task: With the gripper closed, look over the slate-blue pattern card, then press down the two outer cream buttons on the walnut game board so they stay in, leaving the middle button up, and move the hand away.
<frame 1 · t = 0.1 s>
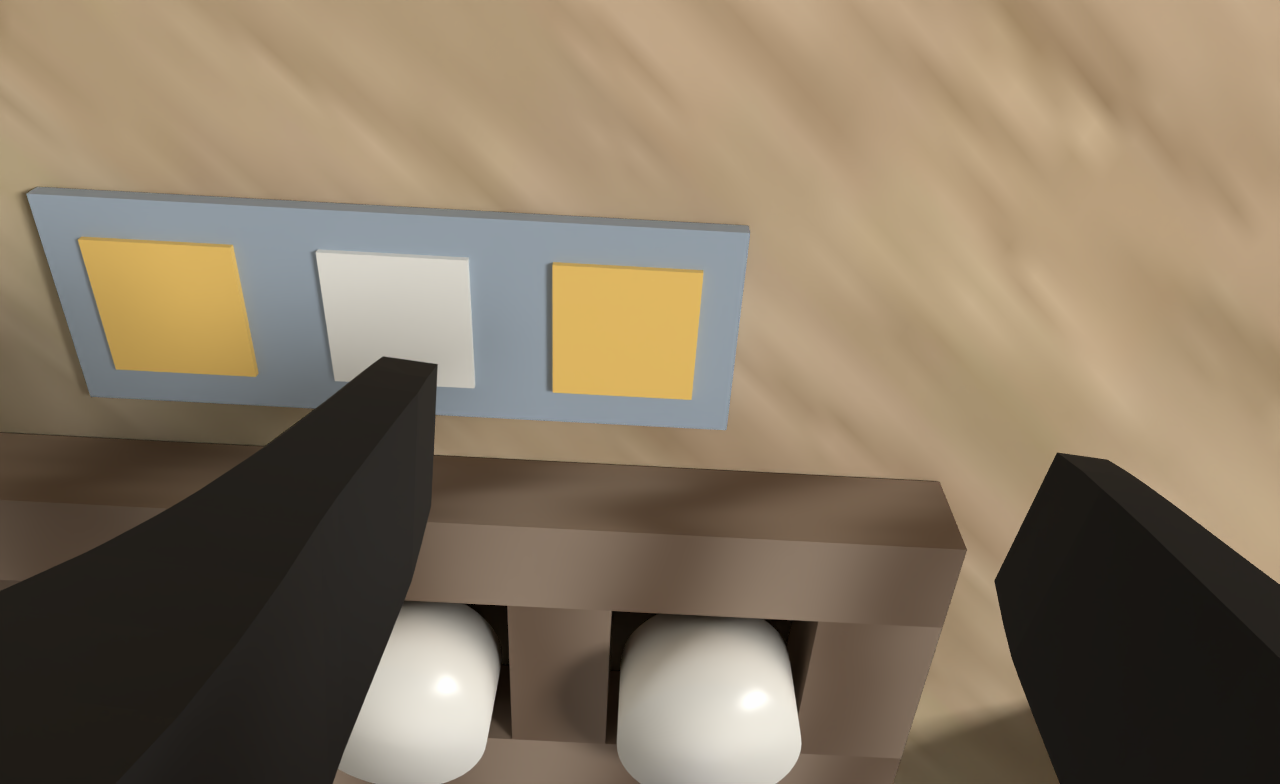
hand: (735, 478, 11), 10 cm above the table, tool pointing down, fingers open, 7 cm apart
button 1: (706, 703, 23), point 3 cm above the table, slide at 0.0 cm
button 2: (406, 688, 23), point 3 cm above the table, slide at 0.0 cm
button board: (432, 600, 26), on the table
pattern card: (404, 311, 21), on the table
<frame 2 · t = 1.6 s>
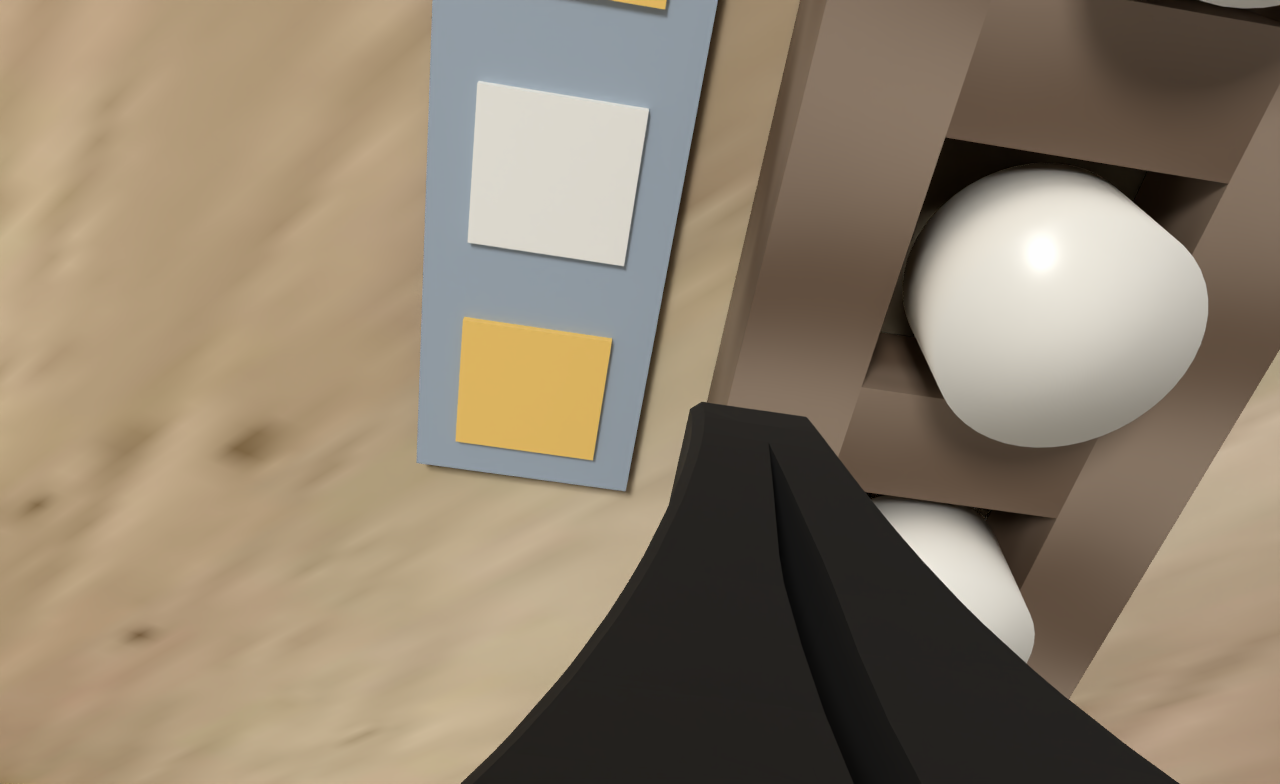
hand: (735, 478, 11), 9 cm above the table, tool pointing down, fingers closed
button 3: (912, 605, 21), point 3 cm above the table, slide at 0.0 cm
button 2: (1042, 306, 17), point 3 cm above the table, slide at 0.0 cm
button board: (992, 238, 19), on the table
pattern card: (557, 169, 19), on the table
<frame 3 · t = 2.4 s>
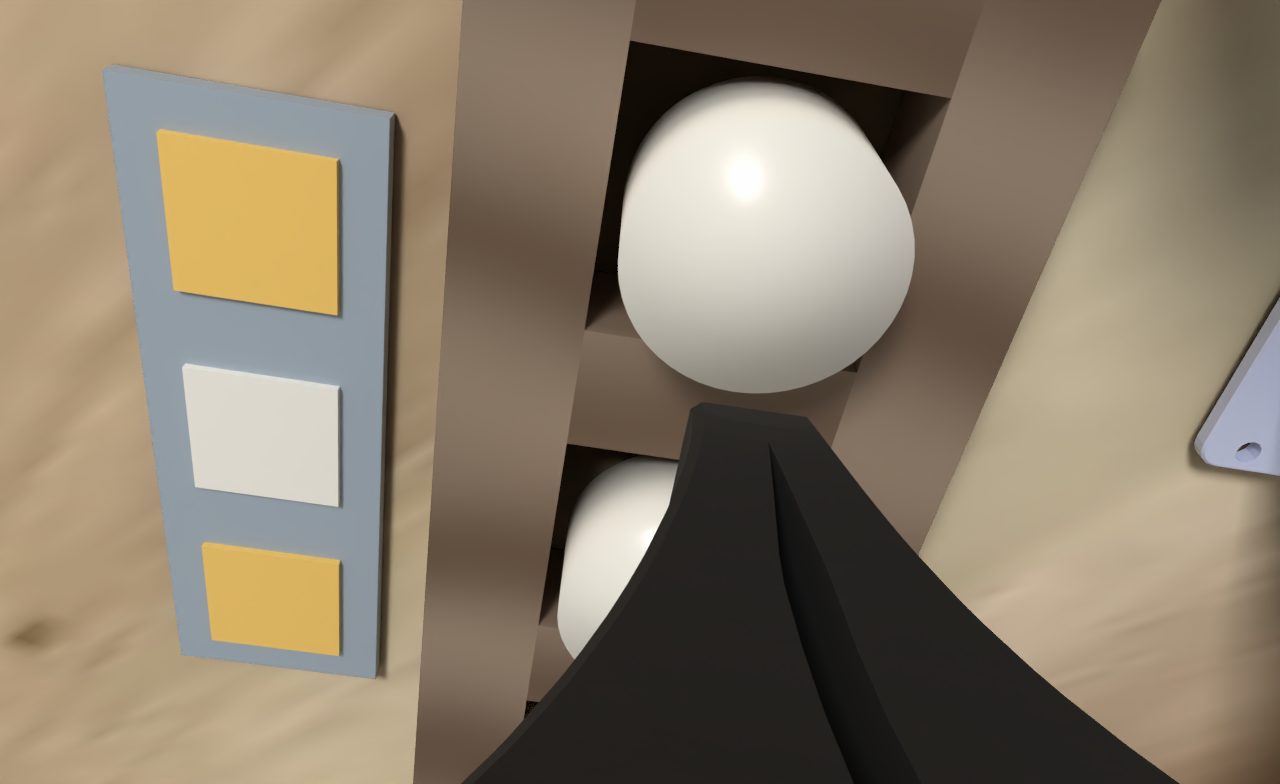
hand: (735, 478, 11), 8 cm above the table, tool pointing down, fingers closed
button 1: (757, 236, 15), point 3 cm above the table, slide at 0.0 cm
button 2: (671, 575, 19), point 3 cm above the table, slide at 0.0 cm
button board: (669, 483, 22), on the table
pattern card: (272, 425, 21), on the table
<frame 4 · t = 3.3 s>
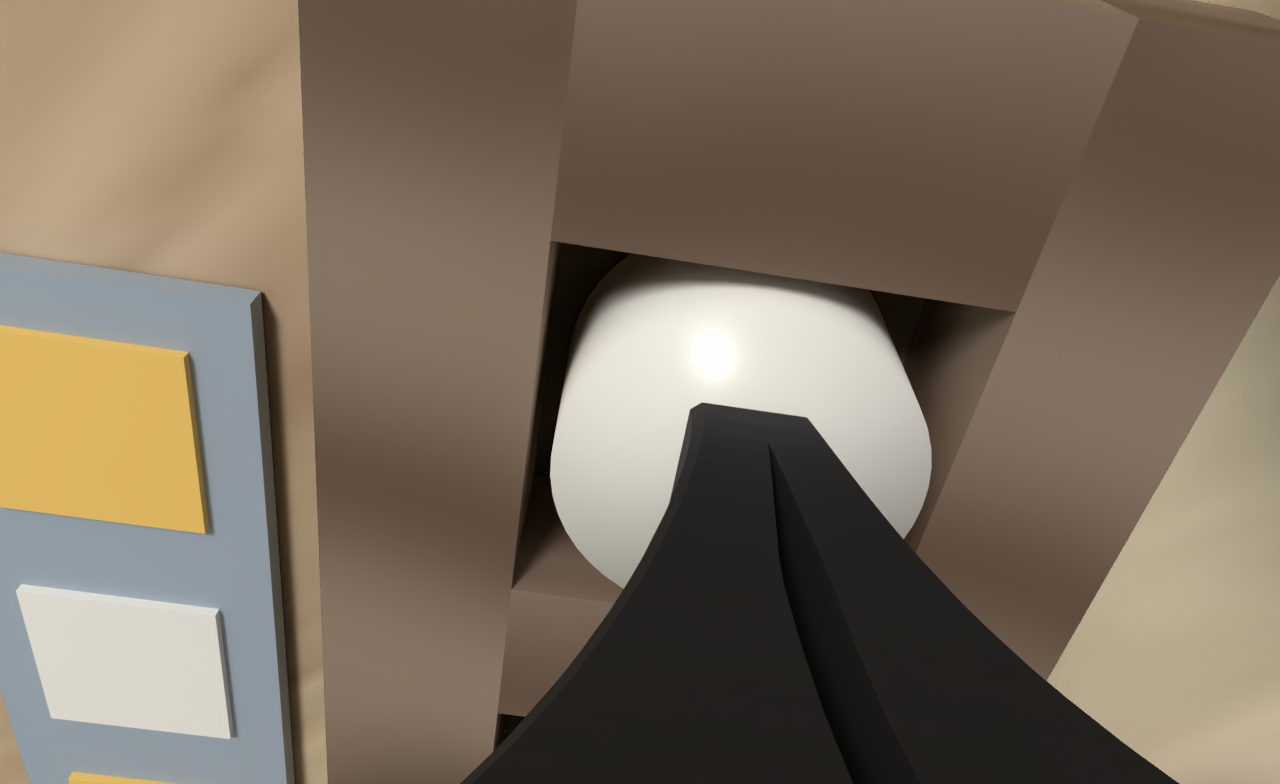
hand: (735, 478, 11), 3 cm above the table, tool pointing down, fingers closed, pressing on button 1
button 1: (732, 421, 12), point 2 cm above the table, slide at 1.5 cm, touching gripper
button board: (643, 706, 17), on the table
pattern card: (144, 644, 17), on the table
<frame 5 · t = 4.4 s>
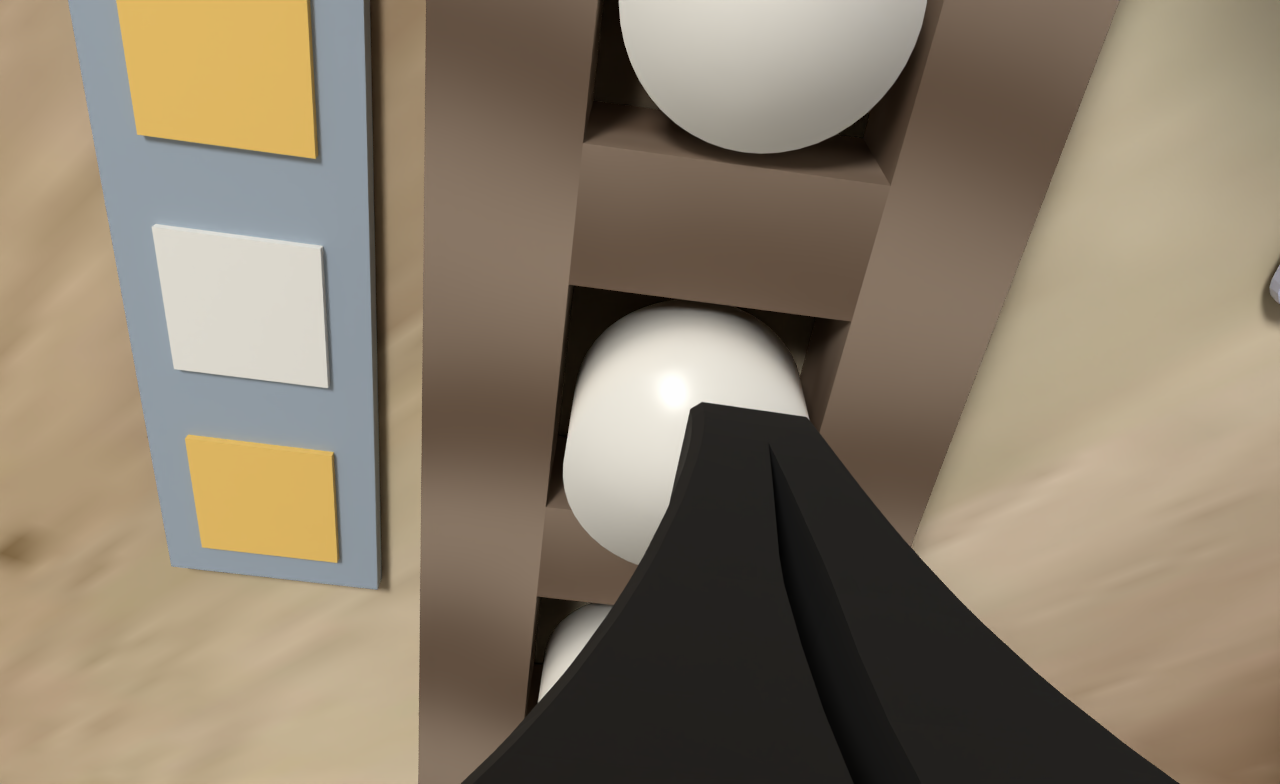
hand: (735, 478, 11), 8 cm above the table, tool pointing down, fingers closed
button 3: (635, 705, 21), point 3 cm above the table, slide at 0.0 cm
button 2: (688, 437, 17), point 3 cm above the table, slide at 0.0 cm
button board: (685, 354, 20), on the table
pattern card: (254, 299, 19), on the table
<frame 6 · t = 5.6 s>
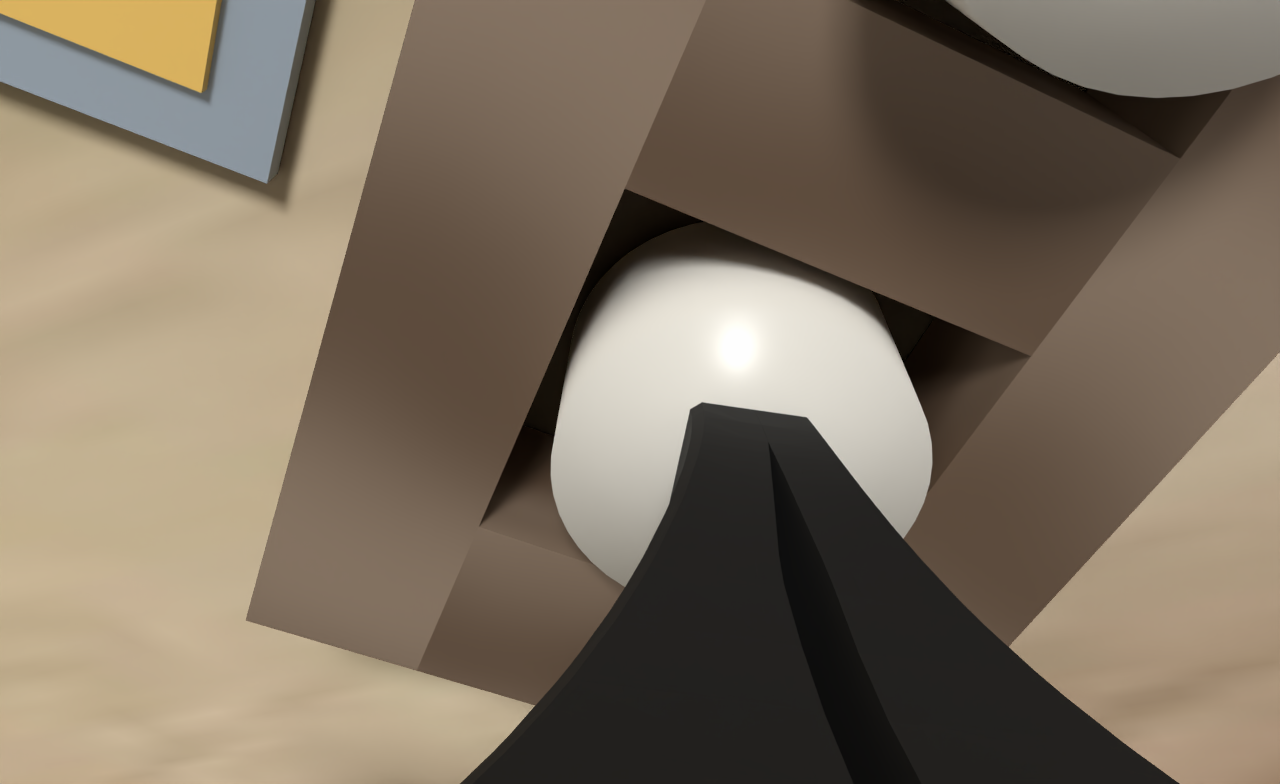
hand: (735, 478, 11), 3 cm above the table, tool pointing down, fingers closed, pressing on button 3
button 3: (733, 419, 12), point 2 cm above the table, slide at 1.2 cm, touching gripper
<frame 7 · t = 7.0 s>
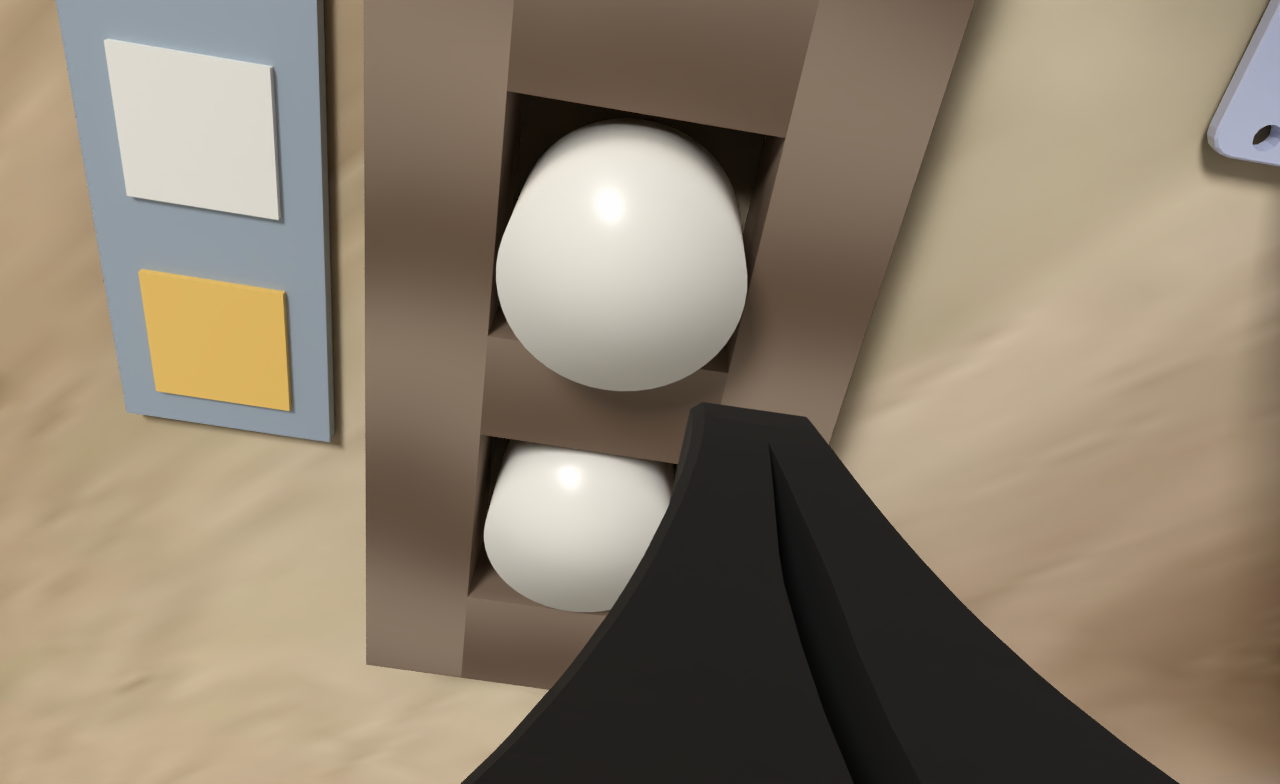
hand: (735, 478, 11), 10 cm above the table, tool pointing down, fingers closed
button 3: (583, 509, 23), point 2 cm above the table, slide at 1.5 cm
button 2: (625, 255, 17), point 3 cm above the table, slide at 0.0 cm
button board: (632, 196, 20), on the table
pattern card: (207, 126, 20), on the table
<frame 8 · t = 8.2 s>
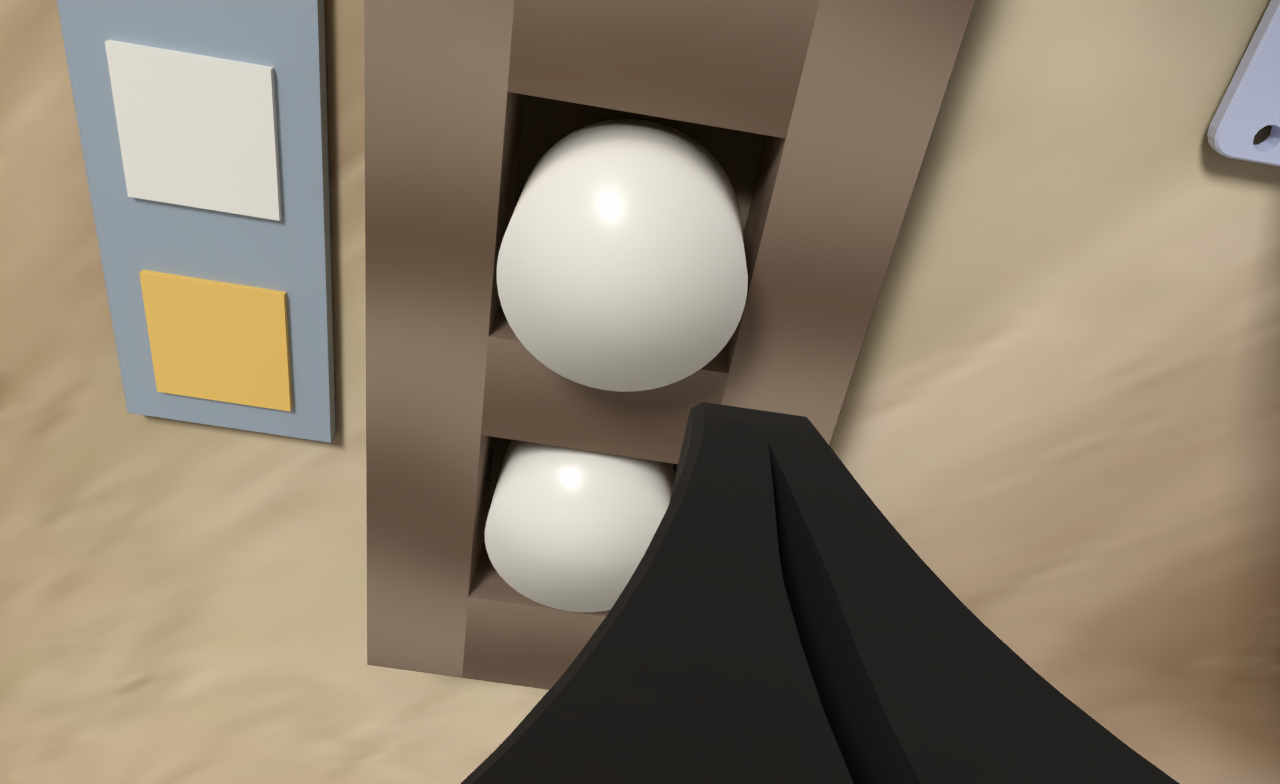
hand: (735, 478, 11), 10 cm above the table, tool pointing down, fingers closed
button 3: (584, 509, 23), point 2 cm above the table, slide at 1.5 cm
button 2: (625, 256, 17), point 3 cm above the table, slide at 0.0 cm
button board: (633, 196, 20), on the table
pattern card: (208, 127, 20), on the table
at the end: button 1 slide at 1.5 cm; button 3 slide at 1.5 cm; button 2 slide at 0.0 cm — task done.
